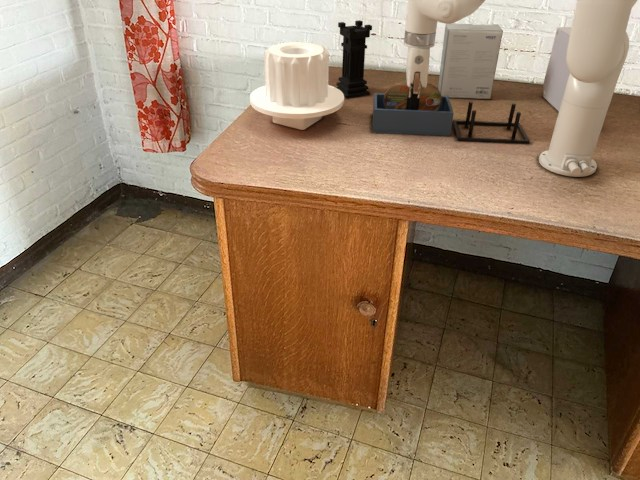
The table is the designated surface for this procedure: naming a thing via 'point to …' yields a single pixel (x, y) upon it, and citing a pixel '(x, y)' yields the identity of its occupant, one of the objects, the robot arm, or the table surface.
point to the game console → (557, 69)
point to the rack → (509, 124)
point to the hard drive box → (469, 60)
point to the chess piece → (353, 59)
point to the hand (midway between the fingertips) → (411, 109)
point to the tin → (400, 91)
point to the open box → (412, 119)
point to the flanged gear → (296, 85)
